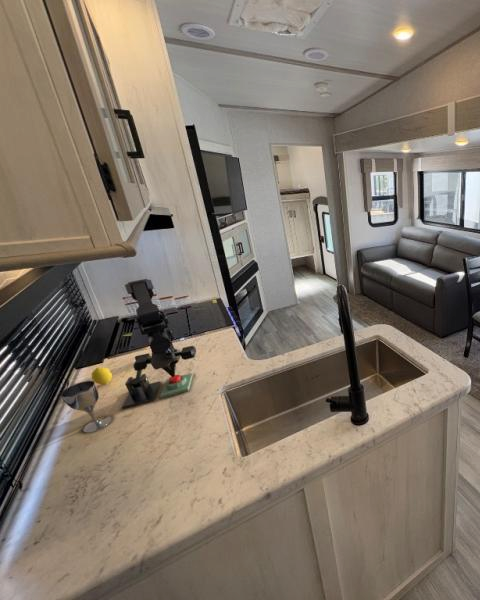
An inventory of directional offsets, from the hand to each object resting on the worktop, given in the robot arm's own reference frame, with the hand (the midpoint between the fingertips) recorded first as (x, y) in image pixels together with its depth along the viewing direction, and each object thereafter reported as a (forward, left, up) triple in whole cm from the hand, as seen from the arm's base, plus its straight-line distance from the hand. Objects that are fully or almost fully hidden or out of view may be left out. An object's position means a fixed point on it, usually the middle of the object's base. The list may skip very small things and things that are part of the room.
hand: (173, 376), depth 120 cm
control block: (0, 0, -5) cm, 5 cm away
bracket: (+8, -8, -5) cm, 12 cm away
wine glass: (+23, -7, -5) cm, 25 cm away
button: (0, 0, -2) cm, 2 cm away
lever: (+4, -12, +2) cm, 13 cm away
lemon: (+8, -31, -5) cm, 32 cm away
